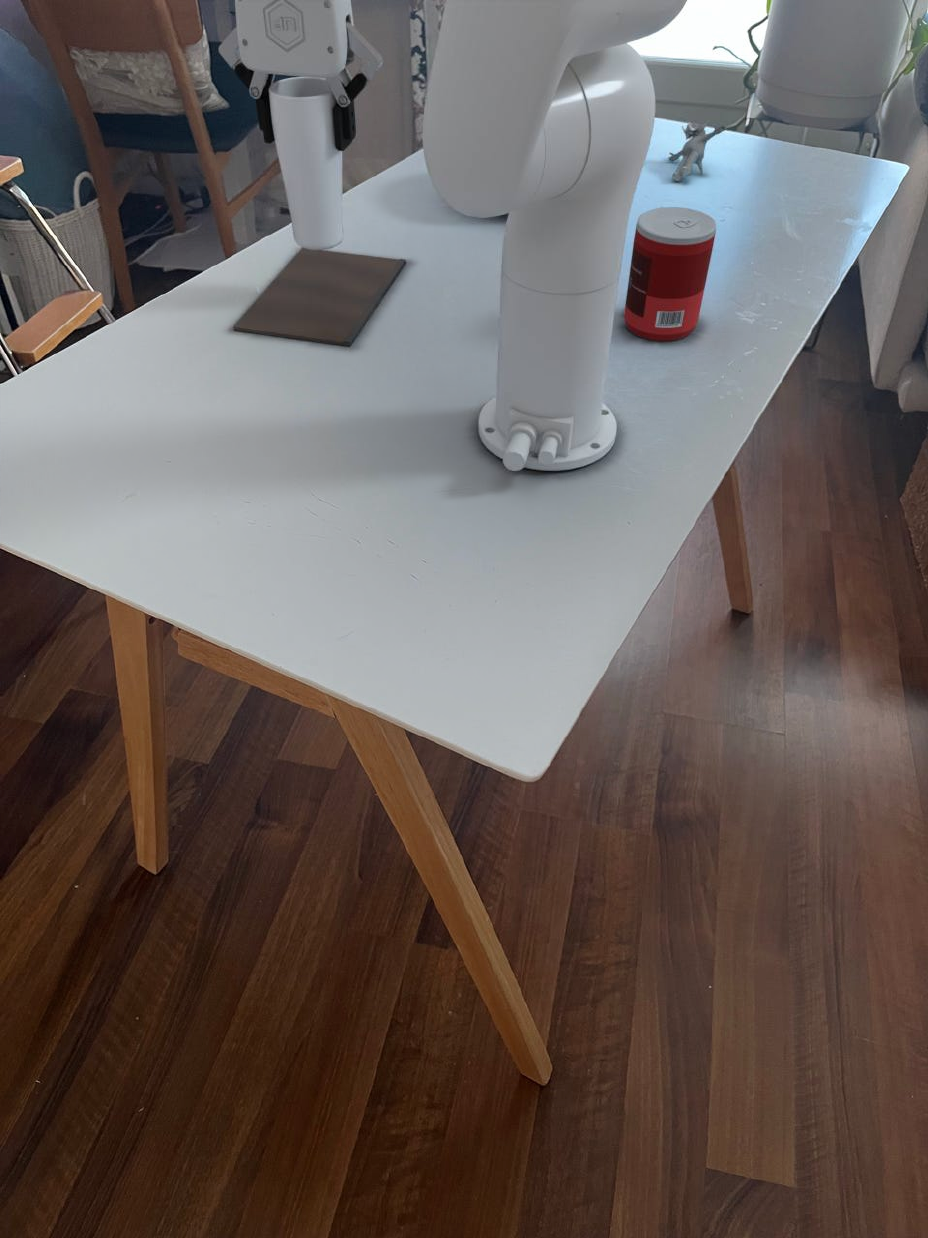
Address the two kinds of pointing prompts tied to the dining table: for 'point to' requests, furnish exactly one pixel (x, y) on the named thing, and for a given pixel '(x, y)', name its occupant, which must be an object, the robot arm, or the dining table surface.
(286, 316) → the desk mat
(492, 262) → the dining table surface
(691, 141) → the grey creature figurine
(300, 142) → the drinking glass
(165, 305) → the dining table surface
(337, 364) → the dining table surface
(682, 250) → the canned food
